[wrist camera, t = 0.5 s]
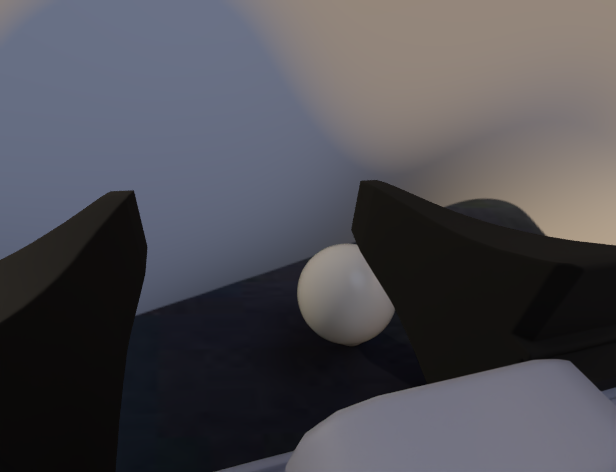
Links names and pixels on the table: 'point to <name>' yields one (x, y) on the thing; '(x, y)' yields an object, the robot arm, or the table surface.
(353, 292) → the lightbulb
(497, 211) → the table surface
